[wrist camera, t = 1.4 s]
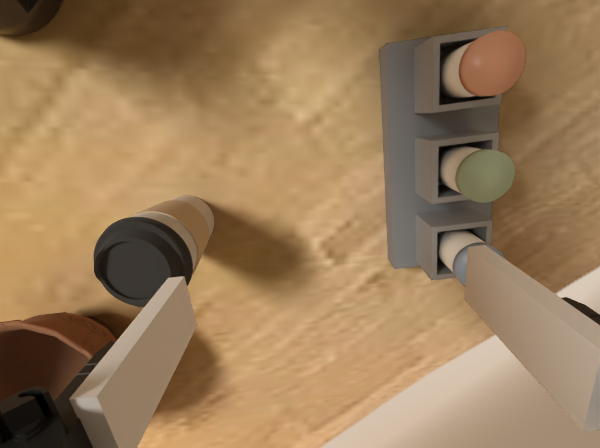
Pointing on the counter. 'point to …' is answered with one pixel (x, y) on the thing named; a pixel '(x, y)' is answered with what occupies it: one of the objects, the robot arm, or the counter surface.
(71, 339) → the bowl
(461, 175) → the plunger sage
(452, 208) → the grey slotted block
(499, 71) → the plunger terracotta
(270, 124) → the counter surface
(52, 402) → the robot arm
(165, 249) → the coffee cup
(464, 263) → the plunger blue
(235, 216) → the counter surface
